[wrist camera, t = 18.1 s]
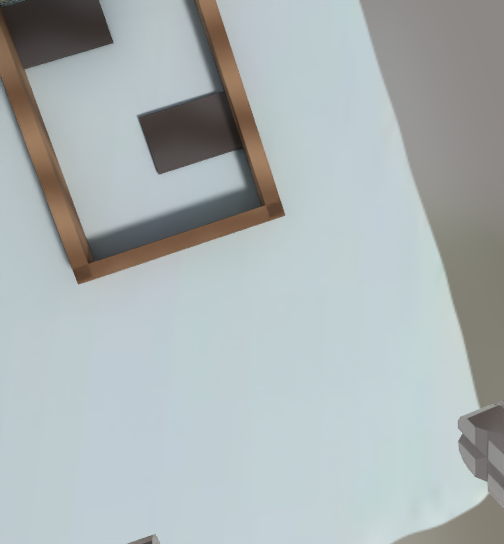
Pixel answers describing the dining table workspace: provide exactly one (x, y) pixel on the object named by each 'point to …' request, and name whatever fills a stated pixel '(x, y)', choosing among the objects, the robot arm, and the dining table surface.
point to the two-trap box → (157, 127)
